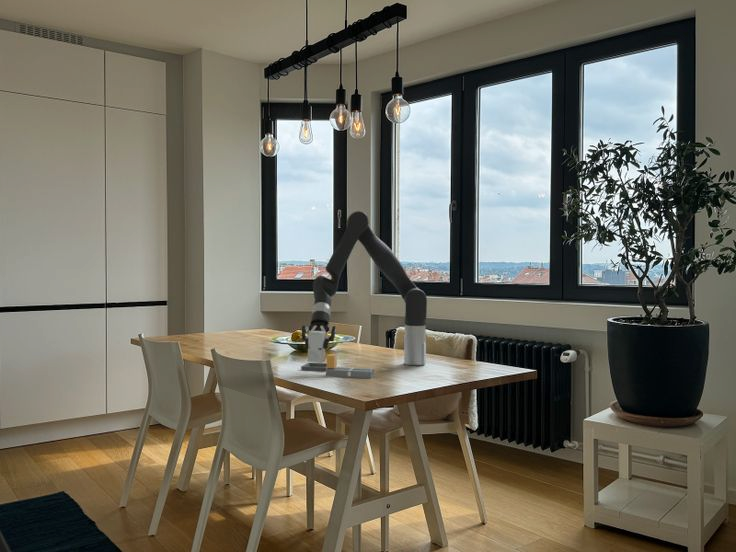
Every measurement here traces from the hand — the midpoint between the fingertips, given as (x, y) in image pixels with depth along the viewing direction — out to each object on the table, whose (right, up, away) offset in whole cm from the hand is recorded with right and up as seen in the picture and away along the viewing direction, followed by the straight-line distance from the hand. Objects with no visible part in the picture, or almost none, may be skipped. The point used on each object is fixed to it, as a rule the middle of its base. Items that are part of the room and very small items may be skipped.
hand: (316, 348), depth 258 cm
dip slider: (+6, -8, 0) cm, 10 cm away
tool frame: (-1, -10, +14) cm, 17 cm away
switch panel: (+13, -11, -1) cm, 17 cm away
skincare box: (0, -6, +2) cm, 6 cm away
